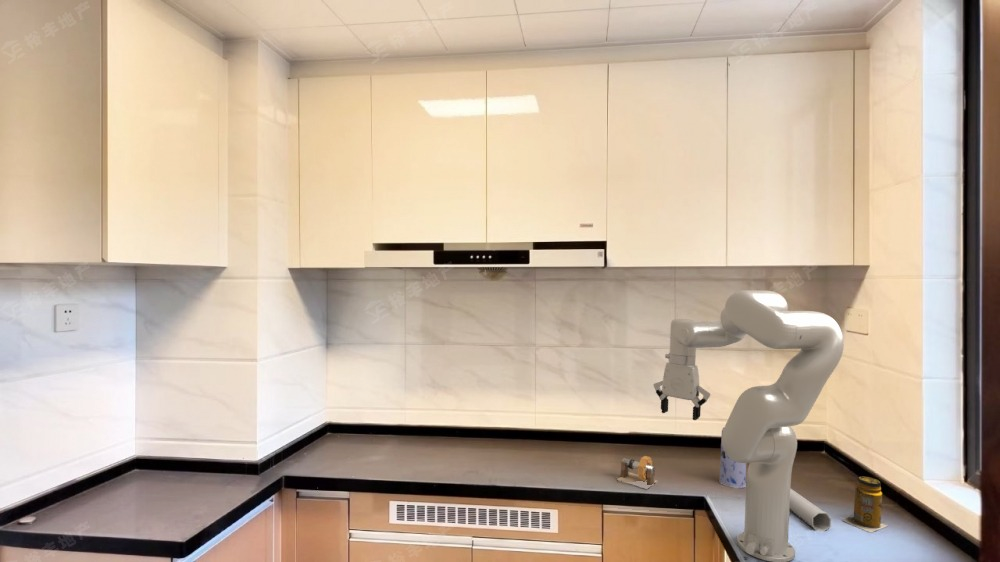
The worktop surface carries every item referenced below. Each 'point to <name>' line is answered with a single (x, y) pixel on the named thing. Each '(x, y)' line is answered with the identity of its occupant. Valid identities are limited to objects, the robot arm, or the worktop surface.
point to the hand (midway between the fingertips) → (679, 415)
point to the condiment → (867, 505)
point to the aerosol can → (731, 471)
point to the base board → (635, 475)
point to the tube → (809, 512)
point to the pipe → (636, 465)
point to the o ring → (643, 467)
